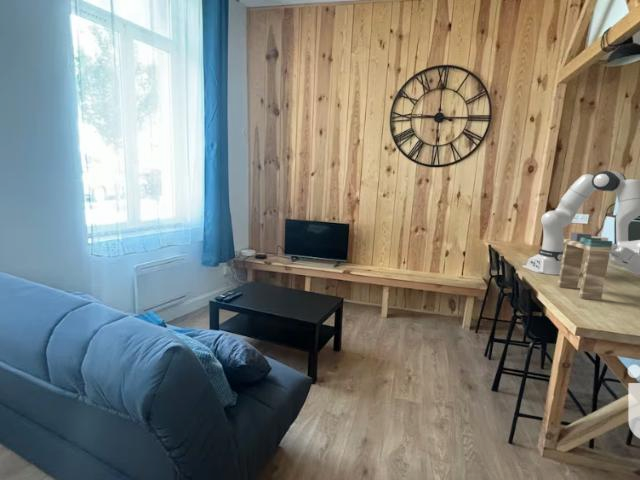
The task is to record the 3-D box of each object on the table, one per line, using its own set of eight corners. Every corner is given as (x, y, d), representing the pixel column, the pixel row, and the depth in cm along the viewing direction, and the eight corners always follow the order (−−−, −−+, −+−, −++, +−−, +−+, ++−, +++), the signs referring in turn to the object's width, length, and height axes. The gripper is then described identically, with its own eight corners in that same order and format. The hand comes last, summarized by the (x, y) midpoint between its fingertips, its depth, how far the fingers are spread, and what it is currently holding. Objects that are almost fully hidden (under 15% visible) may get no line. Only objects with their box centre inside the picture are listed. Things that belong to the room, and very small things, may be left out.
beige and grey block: (602, 241, 185) (603, 233, 184) (608, 243, 180) (610, 235, 180) (570, 239, 186) (571, 232, 185) (576, 241, 181) (577, 233, 181)
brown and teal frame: (556, 286, 193) (565, 233, 187) (575, 287, 192) (584, 234, 187) (580, 298, 173) (591, 240, 167) (602, 300, 172) (613, 241, 167)
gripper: (610, 245, 193) (590, 232, 192) (641, 254, 173) (618, 238, 172) (602, 255, 194) (582, 241, 194) (632, 264, 174) (609, 249, 174)
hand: (599, 240), depth 183 cm, fingers open, 8 cm apart
